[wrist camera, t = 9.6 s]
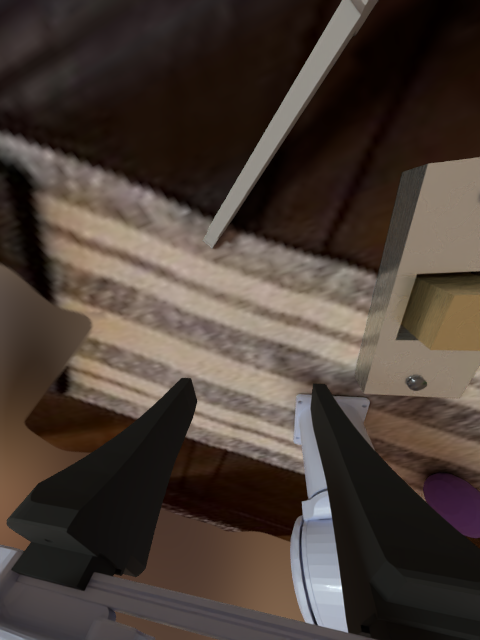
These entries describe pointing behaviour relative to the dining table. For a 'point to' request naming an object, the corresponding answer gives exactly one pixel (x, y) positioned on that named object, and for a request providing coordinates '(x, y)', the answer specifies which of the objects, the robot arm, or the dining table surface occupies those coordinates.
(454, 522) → the purple maraca
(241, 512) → the dining table surface
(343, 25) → the caliper
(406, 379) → the white slotted plate
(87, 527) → the robot arm
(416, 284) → the block
